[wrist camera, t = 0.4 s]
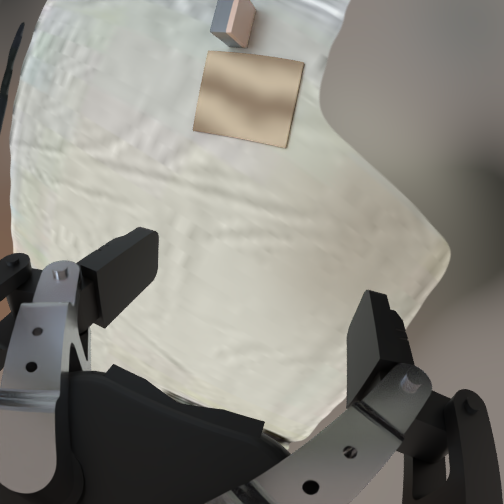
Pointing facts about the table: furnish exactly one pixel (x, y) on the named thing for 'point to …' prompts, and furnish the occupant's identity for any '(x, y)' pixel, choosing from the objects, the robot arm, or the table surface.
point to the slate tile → (233, 22)
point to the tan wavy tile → (248, 96)
